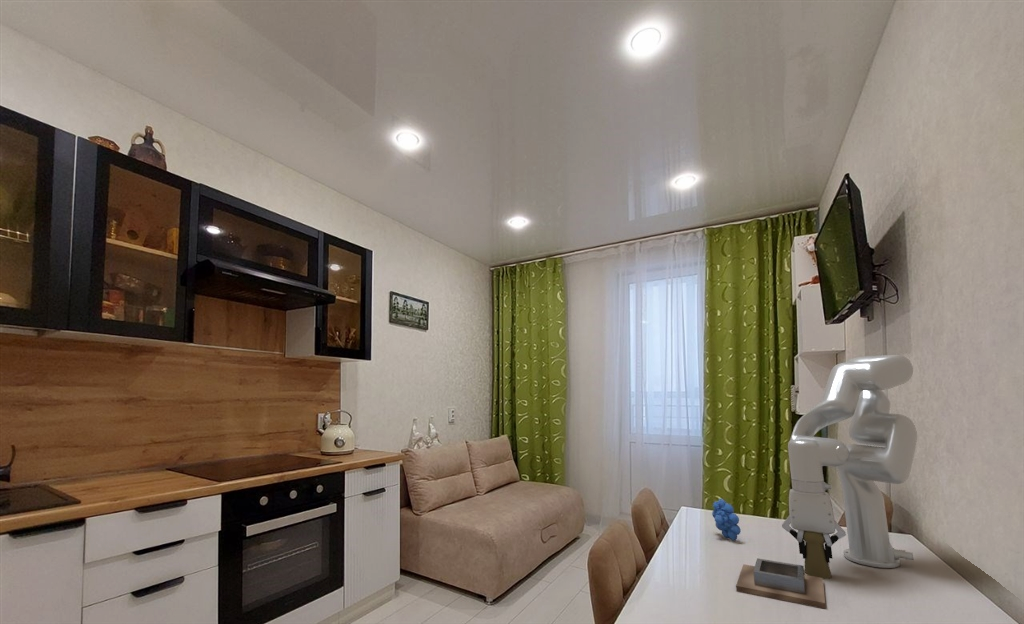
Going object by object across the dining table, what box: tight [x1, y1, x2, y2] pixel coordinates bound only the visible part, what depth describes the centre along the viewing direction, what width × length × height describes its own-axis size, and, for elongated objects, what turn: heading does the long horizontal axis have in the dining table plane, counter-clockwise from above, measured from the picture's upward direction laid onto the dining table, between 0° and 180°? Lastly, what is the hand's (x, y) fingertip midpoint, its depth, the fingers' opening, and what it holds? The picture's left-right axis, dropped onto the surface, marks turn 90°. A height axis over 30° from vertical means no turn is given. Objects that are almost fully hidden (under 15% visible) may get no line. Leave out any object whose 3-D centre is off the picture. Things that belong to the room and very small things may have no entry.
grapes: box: [711, 498, 741, 541], centre depth 151 cm, size 12×7×12 cm, turn 16°
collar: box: [753, 558, 806, 594], centre depth 114 cm, size 10×10×3 cm
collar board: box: [735, 563, 826, 610], centre depth 114 cm, size 18×16×1 cm
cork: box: [803, 531, 833, 580], centre depth 122 cm, size 6×6×11 cm
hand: (816, 558), depth 122 cm, fingers closed on cork, 4 cm apart
